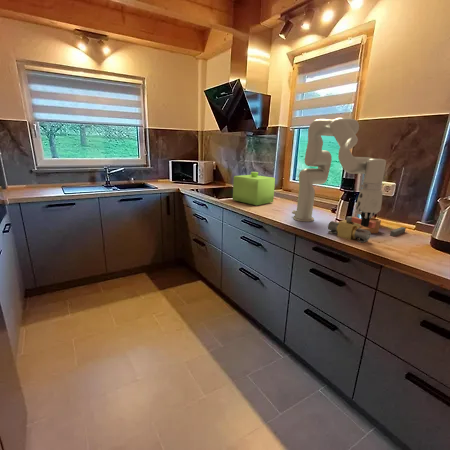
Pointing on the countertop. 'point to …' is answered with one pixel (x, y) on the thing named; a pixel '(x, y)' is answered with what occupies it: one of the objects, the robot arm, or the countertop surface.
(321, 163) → the robot arm
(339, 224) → the valve body
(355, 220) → the lever
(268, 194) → the canister
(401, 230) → the block
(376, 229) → the small saucepan
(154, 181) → the countertop surface
